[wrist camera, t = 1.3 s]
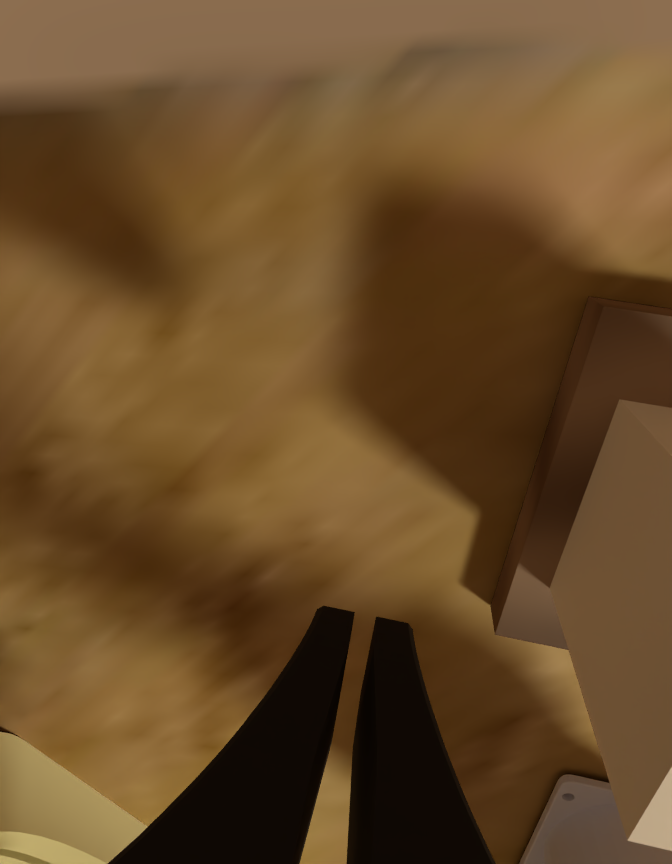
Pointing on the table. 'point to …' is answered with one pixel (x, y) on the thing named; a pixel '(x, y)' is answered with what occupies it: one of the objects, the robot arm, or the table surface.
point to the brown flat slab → (578, 453)
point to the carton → (626, 614)
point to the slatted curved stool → (55, 812)
